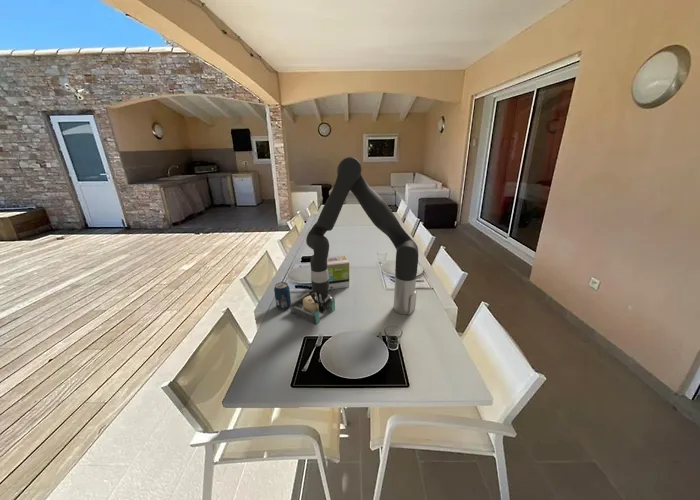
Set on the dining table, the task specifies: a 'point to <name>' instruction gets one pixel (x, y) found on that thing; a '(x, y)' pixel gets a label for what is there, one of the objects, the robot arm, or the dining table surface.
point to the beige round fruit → (310, 304)
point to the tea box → (338, 272)
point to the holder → (306, 315)
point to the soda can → (282, 296)
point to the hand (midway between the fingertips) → (322, 311)
